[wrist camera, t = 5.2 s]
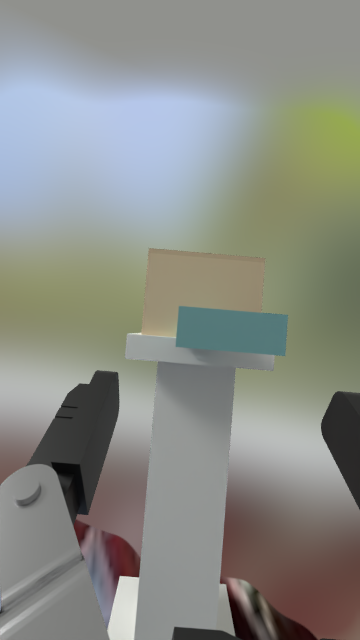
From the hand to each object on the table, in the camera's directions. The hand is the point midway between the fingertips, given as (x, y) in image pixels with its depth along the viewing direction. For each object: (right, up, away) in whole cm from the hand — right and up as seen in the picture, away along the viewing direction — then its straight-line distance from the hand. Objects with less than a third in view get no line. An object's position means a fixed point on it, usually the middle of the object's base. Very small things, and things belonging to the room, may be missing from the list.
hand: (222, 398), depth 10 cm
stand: (-3, -31, +16) cm, 35 cm away
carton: (0, +1, +11) cm, 11 cm away
